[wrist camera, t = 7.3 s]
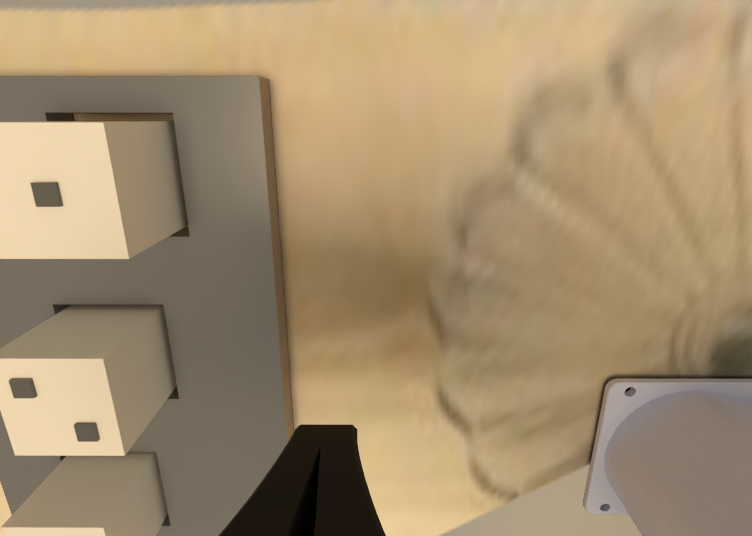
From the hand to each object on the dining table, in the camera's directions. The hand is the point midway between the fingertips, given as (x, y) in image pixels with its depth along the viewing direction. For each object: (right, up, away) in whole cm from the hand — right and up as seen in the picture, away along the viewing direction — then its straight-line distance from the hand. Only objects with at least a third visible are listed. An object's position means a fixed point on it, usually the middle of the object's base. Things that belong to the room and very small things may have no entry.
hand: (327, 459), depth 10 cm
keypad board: (-10, +1, +10) cm, 14 cm away
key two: (-10, +1, +10) cm, 14 cm away
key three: (-12, -6, +12) cm, 18 cm away
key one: (-9, +8, +7) cm, 14 cm away
